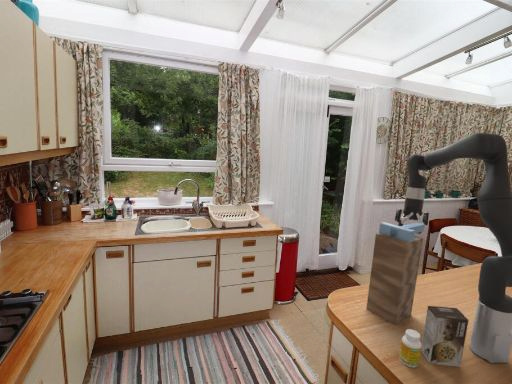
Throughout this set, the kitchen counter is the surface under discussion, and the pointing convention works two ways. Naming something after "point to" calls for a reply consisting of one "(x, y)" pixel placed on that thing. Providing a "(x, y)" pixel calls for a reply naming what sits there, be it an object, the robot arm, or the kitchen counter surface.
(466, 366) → the kitchen counter surface
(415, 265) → the pedestal
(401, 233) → the t bar
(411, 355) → the supplement bottle
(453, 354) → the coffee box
